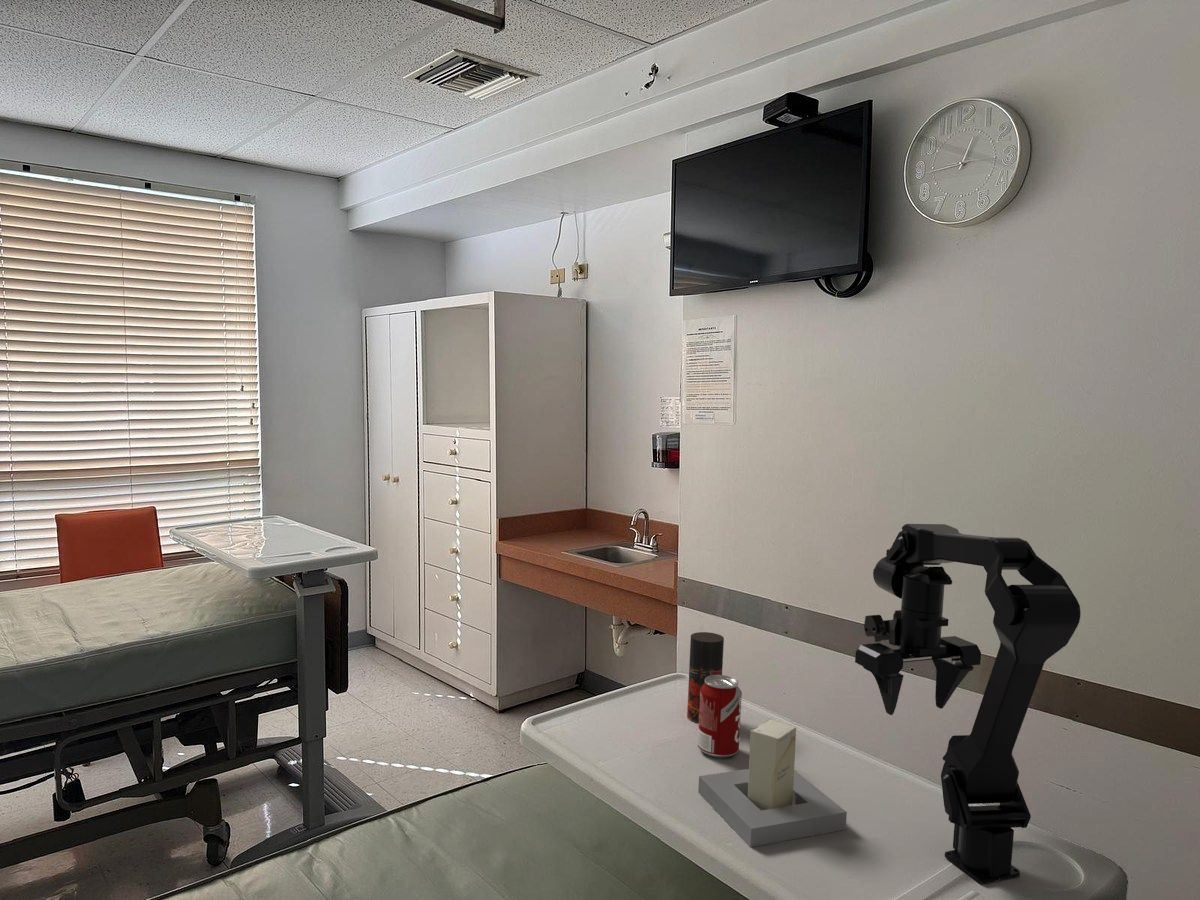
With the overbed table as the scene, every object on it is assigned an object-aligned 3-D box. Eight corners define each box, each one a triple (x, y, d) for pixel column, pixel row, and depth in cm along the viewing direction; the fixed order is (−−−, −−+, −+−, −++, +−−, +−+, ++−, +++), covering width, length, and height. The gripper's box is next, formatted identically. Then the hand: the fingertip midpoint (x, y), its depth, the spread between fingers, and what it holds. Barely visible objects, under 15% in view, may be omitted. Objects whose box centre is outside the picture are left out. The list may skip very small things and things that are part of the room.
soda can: (707, 762, 131) (710, 689, 131) (691, 744, 138) (694, 674, 137) (745, 758, 133) (749, 686, 132) (728, 740, 140) (731, 672, 139)
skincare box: (773, 824, 113) (778, 739, 112) (744, 813, 116) (749, 730, 115) (793, 807, 118) (798, 725, 117) (765, 796, 121) (769, 717, 120)
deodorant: (683, 711, 152) (687, 632, 151) (715, 711, 152) (719, 632, 151) (690, 724, 146) (694, 642, 145) (723, 724, 147) (727, 642, 145)
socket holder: (845, 829, 113) (846, 812, 113) (750, 847, 108) (751, 828, 107) (785, 778, 127) (786, 763, 127) (698, 792, 122) (699, 776, 121)
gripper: (932, 591, 132) (926, 685, 133) (835, 597, 125) (829, 696, 126) (987, 609, 121) (979, 712, 123) (883, 618, 115) (876, 726, 116)
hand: (914, 710), depth 122 cm, fingers open, 9 cm apart
